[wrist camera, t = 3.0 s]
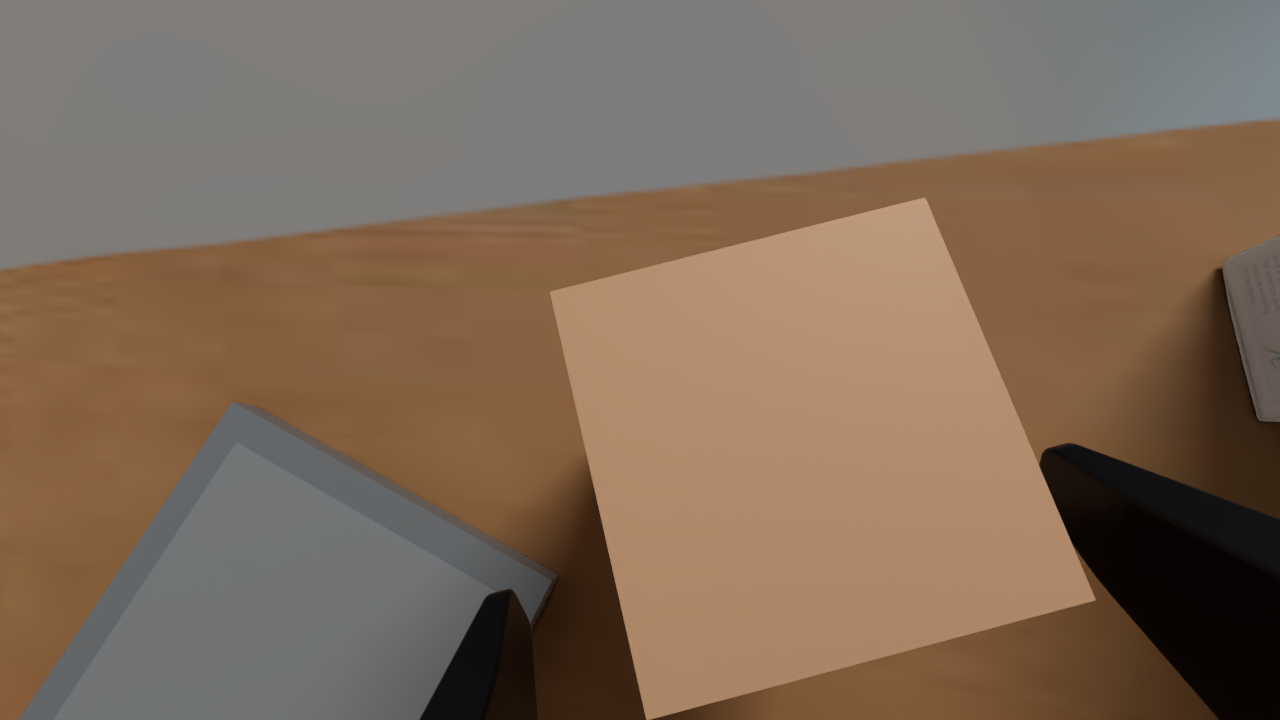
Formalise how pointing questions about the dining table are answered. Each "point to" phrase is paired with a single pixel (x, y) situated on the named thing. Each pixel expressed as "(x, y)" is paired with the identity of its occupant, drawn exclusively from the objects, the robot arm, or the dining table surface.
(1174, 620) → the robot arm
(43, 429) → the dining table surface
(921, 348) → the block
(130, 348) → the dining table surface
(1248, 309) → the syrup box
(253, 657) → the plate
